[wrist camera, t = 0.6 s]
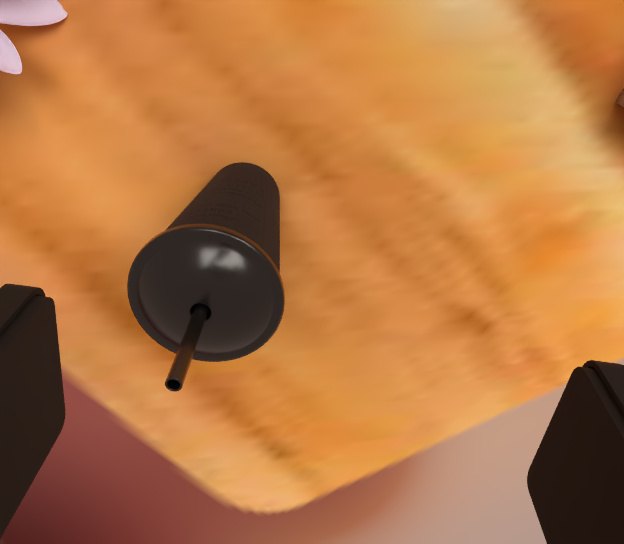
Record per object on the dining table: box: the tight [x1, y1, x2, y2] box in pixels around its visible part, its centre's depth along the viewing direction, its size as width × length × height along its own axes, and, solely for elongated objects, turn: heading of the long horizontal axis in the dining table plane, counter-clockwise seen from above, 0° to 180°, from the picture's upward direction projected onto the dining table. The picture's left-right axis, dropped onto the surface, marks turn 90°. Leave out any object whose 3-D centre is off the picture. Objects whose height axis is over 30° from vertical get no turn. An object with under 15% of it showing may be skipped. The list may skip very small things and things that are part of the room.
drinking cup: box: [127, 163, 285, 391], centre depth 32 cm, size 8×8×20 cm
